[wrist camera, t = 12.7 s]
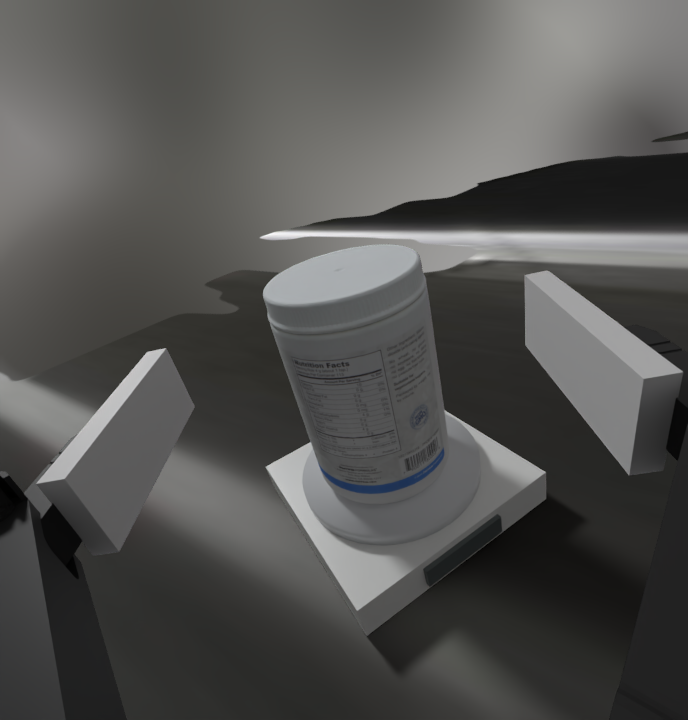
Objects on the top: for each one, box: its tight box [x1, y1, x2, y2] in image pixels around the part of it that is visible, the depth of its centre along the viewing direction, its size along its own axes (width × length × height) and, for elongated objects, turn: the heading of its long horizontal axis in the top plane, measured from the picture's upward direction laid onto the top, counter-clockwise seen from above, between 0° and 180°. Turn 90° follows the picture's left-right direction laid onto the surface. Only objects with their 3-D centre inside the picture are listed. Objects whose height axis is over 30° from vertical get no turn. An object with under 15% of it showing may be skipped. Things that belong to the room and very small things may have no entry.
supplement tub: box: [263, 244, 449, 504], centre depth 28 cm, size 10×10×15 cm
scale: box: [266, 410, 546, 636], centre depth 32 cm, size 15×15×4 cm
